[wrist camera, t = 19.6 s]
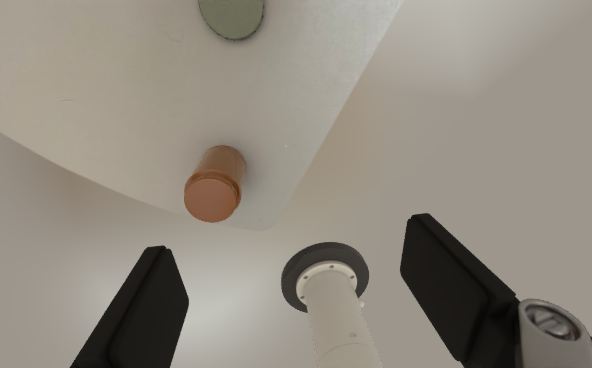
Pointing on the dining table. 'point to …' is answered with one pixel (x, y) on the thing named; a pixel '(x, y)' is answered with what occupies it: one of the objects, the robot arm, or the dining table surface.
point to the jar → (216, 184)
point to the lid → (232, 17)
